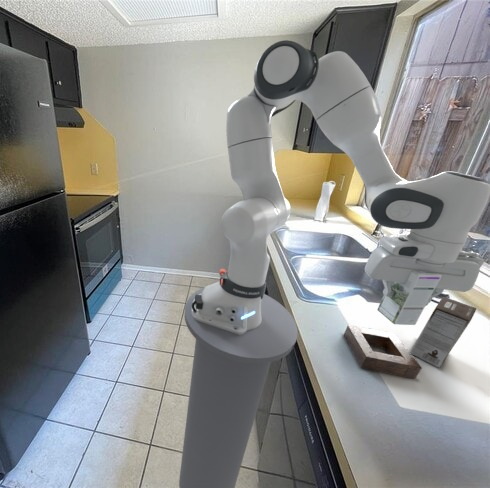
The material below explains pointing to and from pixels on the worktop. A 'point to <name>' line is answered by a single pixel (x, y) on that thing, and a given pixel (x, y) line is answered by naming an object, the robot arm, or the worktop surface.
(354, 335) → the socket pad
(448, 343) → the coffee box
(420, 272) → the syrup box
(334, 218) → the worktop surface
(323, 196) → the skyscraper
